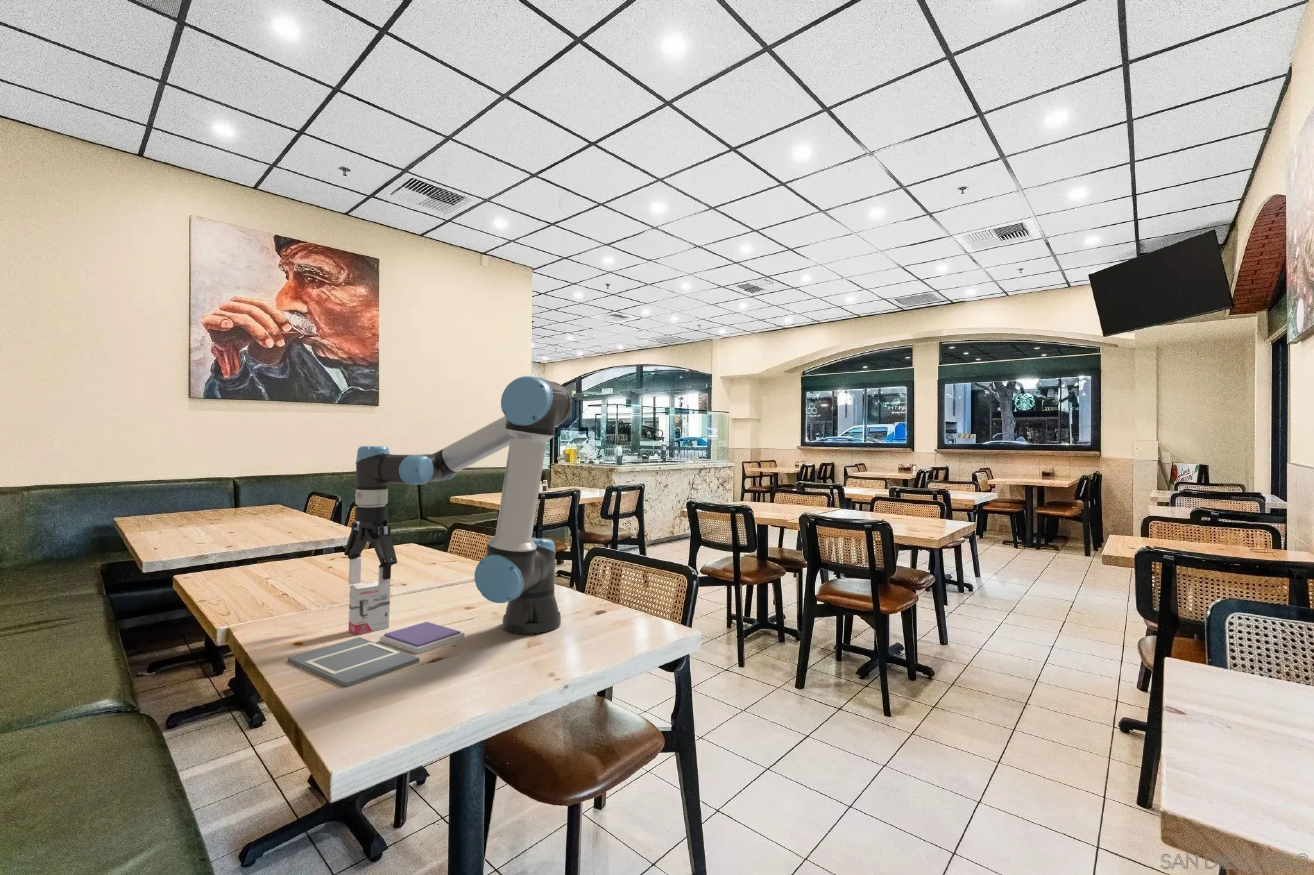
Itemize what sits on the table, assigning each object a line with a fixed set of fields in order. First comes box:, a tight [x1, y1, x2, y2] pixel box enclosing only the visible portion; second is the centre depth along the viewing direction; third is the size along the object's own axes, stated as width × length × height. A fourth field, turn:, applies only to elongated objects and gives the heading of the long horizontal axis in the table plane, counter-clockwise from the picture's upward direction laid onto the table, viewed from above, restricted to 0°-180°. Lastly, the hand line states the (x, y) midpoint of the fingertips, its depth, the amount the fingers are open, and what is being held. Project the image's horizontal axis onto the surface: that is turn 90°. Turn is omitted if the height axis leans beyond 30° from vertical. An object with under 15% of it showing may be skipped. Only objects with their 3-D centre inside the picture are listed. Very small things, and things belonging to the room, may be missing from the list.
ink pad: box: [379, 621, 466, 655], centre depth 139 cm, size 15×13×2 cm
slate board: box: [287, 636, 420, 688], centre depth 125 cm, size 24×16×1 cm, turn 57°
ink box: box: [348, 580, 391, 635], centre depth 146 cm, size 9×5×12 cm, turn 137°
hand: (368, 587), depth 146 cm, fingers open, 13 cm apart
